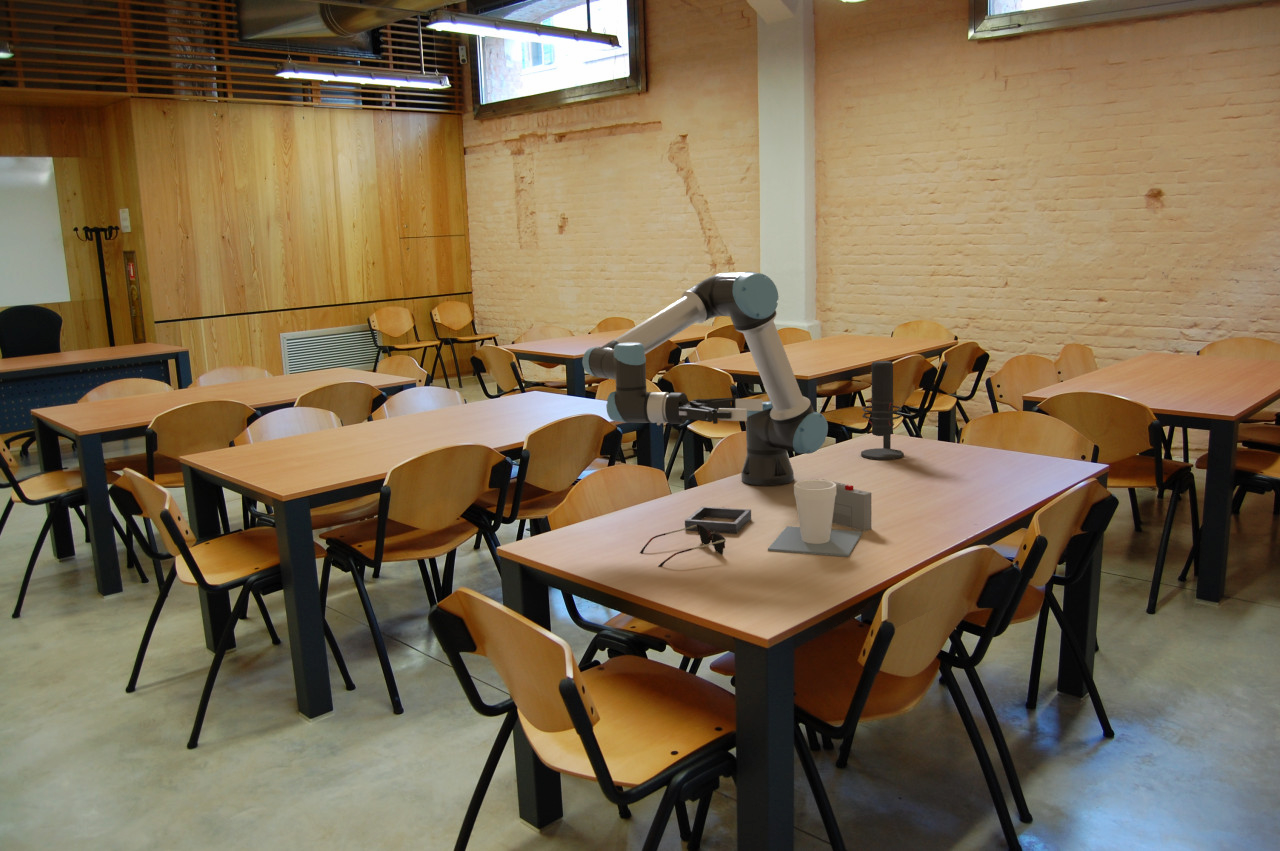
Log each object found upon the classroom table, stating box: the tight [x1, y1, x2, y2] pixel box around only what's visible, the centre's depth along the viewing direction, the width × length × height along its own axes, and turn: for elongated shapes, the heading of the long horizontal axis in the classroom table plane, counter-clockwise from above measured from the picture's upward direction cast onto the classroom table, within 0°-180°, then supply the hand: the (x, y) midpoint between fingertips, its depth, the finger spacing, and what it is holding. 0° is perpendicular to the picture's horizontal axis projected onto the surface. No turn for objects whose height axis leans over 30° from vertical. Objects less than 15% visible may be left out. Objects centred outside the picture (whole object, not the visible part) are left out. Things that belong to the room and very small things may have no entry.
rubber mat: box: [767, 525, 863, 558], centre depth 221 cm, size 18×18×1 cm
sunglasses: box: [639, 524, 727, 568], centre depth 217 cm, size 14×16×5 cm
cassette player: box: [821, 479, 872, 532], centre depth 234 cm, size 16×3×10 cm, turn 38°
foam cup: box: [793, 479, 836, 544], centre depth 220 cm, size 10×9×13 cm
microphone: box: [860, 360, 905, 461], centre depth 303 cm, size 14×13×30 cm
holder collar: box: [684, 506, 752, 535], centre depth 238 cm, size 13×13×2 cm
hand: (754, 409), depth 224 cm, fingers open, 13 cm apart
